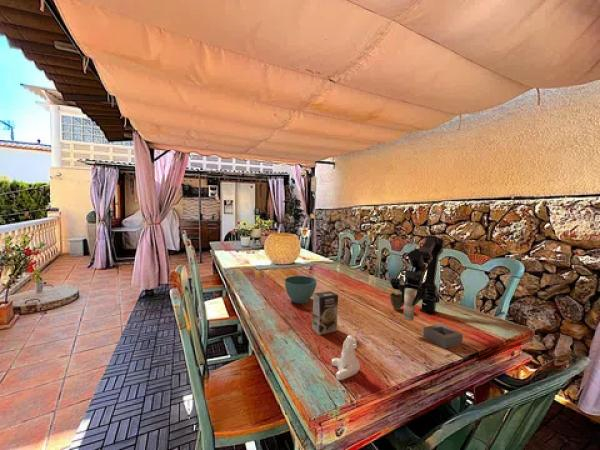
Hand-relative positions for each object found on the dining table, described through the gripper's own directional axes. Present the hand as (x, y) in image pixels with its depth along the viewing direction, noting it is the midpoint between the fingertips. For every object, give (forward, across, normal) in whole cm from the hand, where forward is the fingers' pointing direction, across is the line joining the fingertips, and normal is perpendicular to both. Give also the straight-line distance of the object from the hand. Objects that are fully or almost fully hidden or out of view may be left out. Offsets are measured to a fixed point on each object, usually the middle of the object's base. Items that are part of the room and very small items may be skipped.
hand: (408, 304), depth 109 cm
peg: (+4, 0, +6) cm, 7 cm away
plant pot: (+10, -59, +10) cm, 61 cm away
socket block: (+6, +12, +13) cm, 19 cm away
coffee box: (+24, -28, -5) cm, 37 cm away
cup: (-9, -14, +28) cm, 32 cm away
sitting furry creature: (+37, -6, -18) cm, 42 cm away
